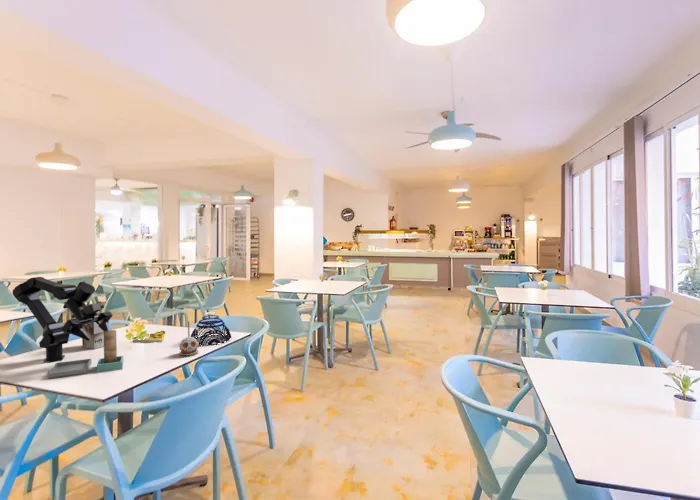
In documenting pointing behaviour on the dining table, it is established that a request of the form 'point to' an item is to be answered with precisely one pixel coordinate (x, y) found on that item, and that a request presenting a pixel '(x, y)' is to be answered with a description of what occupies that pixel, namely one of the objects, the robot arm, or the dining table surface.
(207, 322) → the decorative bowl
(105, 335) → the brown tall rounded cylinder
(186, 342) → the decorative ornament
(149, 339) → the pizza slice
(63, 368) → the tray
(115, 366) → the teal square frame
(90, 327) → the coffee box
